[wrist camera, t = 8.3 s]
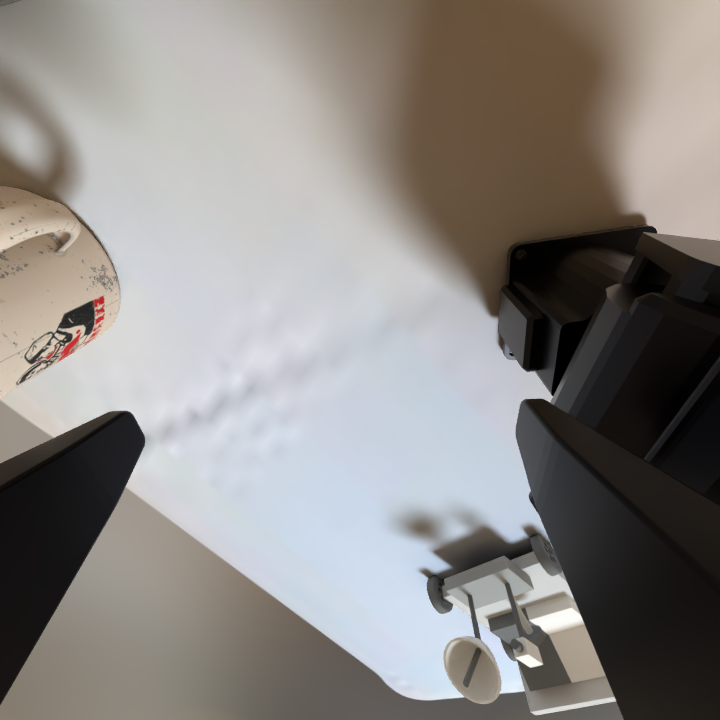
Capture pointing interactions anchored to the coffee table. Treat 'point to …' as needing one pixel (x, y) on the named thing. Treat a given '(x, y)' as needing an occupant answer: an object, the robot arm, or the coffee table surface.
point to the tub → (6, 2)
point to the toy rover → (522, 632)
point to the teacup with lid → (48, 286)
